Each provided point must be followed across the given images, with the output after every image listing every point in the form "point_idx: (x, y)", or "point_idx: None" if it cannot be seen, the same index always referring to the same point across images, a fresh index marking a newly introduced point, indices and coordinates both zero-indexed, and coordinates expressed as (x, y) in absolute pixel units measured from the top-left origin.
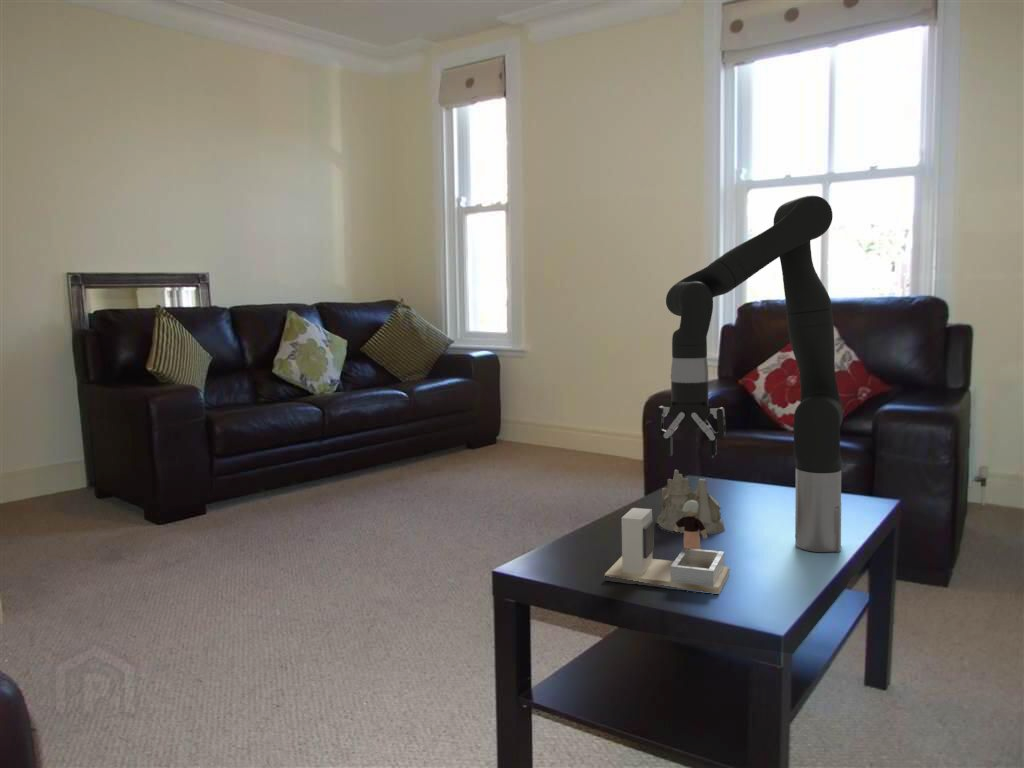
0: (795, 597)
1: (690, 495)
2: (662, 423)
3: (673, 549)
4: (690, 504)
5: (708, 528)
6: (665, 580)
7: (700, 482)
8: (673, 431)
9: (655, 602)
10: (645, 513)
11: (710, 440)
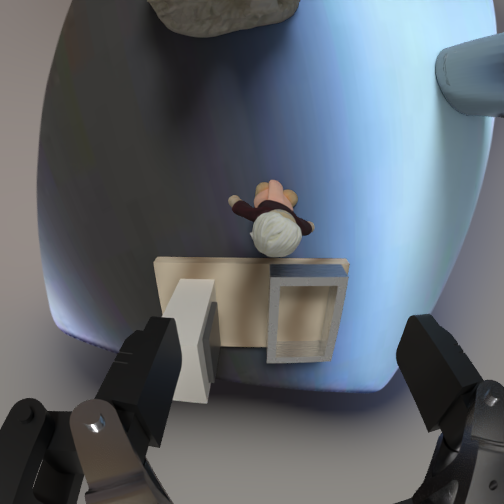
0: (418, 311)
1: None
2: (26, 483)
3: (221, 147)
4: (280, 253)
5: (271, 18)
6: (258, 344)
7: None
8: (135, 462)
9: (257, 374)
10: (196, 373)
11: (441, 424)
